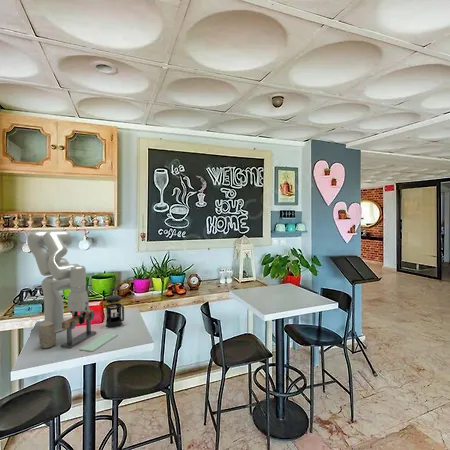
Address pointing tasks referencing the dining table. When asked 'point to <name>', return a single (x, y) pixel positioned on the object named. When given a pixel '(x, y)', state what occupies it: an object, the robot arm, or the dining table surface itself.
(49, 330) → the carving
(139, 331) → the dining table surface
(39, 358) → the dining table surface
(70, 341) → the rail stand
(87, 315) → the bar
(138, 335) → the dining table surface
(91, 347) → the mat
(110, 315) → the french press
